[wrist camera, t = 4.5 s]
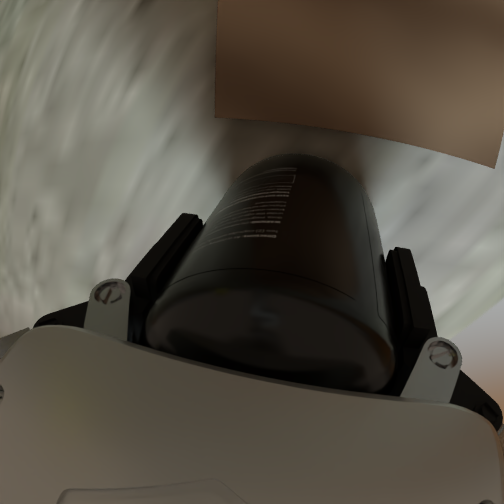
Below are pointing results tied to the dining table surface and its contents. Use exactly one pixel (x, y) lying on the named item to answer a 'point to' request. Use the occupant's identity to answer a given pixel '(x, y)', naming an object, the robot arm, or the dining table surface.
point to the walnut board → (368, 69)
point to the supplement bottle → (285, 283)
